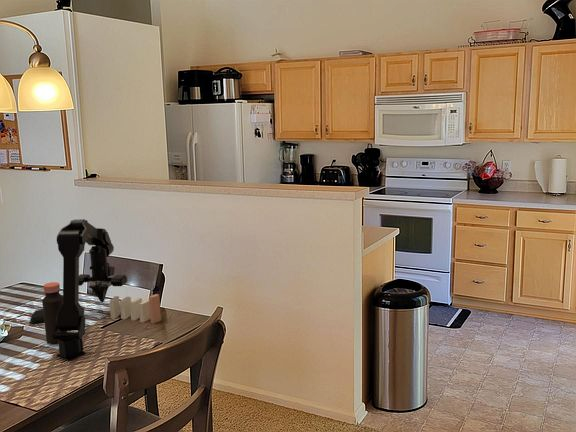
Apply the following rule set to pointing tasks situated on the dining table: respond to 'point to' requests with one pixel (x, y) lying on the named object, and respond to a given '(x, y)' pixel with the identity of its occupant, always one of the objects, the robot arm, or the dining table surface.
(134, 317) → the ivory domino
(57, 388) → the dining table surface
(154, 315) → the terracotta domino
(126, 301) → the ivory domino
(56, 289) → the bottle
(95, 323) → the dining table surface
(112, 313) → the ivory domino
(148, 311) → the ivory domino
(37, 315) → the carrying case or bag
